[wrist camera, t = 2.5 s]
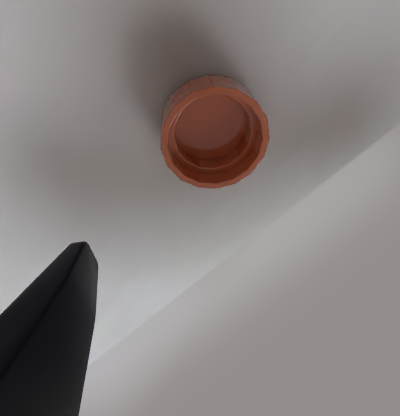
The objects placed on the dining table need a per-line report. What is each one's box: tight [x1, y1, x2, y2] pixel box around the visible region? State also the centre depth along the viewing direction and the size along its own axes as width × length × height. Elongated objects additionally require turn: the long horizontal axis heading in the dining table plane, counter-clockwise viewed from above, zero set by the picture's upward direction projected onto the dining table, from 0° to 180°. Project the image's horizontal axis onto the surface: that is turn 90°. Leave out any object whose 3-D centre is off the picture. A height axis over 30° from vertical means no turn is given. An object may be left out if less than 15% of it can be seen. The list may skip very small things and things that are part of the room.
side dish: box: [160, 75, 269, 188], centre depth 14 cm, size 5×5×2 cm
